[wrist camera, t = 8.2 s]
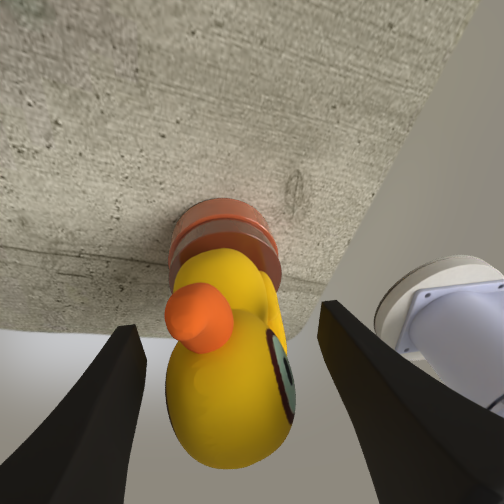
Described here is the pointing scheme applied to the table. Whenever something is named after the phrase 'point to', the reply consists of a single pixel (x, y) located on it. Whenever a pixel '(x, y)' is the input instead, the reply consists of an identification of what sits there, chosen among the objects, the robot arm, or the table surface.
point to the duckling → (227, 362)
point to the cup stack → (224, 236)
